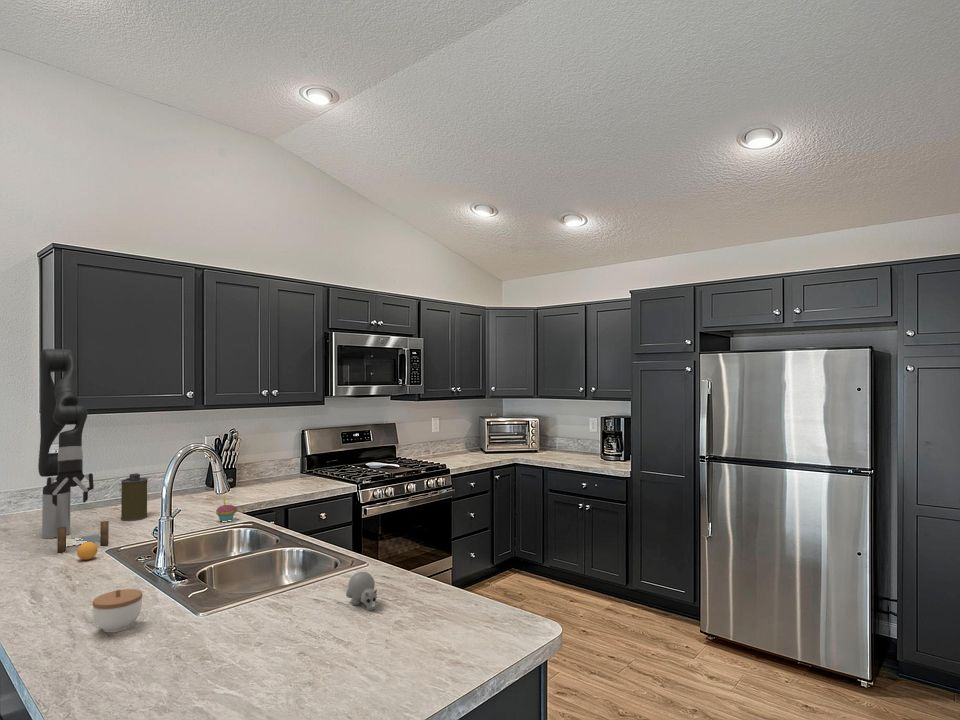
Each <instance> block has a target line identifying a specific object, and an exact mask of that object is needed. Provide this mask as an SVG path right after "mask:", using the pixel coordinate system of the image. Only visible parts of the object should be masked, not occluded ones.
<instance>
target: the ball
mask: <svg viewBox="0 0 960 720" xmlns="http://www.w3.org/2000/svg"><path fill="white" fill-rule="evenodd" d="M98 548H99V547H98V545H97V544H96V543H93V542H85V543H83V544H81V545H78V548H77V550H76V554H77V555H76V556H77V557H78V558H79V559H80V560H84V561H88V560H91V559H93V558H94V557H95V556H96V555H97V553H98Z"/></svg>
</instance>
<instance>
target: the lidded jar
mask: <svg viewBox="0 0 960 720" xmlns="http://www.w3.org/2000/svg"><path fill="white" fill-rule="evenodd" d="M142 597H143V591H142V590H140V589H134V588H132V589H131V588H126V589H116V590H113V591H112V590H111V591H108V592H106V593H103V594H100V595H98V596H96V597H95V598H94V599H93V600H92V613H93V621H94V622H95V624H96V625H97V627H99V629H102V631H103V632H104V633H107V634H109V633H111V634H113V633H118V632H123V631H124V630H127V629H129V628H131V627H132V624H133V623H135V621H136V620H137V619H138V617H139V616H140V613H141V609H142V601H143V600H142V599H143V598H142Z"/></svg>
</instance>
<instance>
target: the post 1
mask: <svg viewBox="0 0 960 720" xmlns="http://www.w3.org/2000/svg"><path fill="white" fill-rule="evenodd" d="M66 539H67V535H66V527H59V528H58V537H57V548H56V549H57V550H56V551H57V554H58V553H61V554H63V553H62V552H65V551H66V552H67V547H66ZM66 552H65V553H66Z"/></svg>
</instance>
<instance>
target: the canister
mask: <svg viewBox="0 0 960 720" xmlns="http://www.w3.org/2000/svg"><path fill="white" fill-rule="evenodd" d="M120 482H121V494H120V495H121V496H120V497H121V503H120V504H121V507H120V508H121V515H120V516H121V517H120V520H121V521H122V522H131V521H132V522H134V521H141V520H145V519H147V518H148V477H147V478H146V477H141V473H136V472H134V473H130V474H129V477H127V478H125V479H122V480H121V481H120Z"/></svg>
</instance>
